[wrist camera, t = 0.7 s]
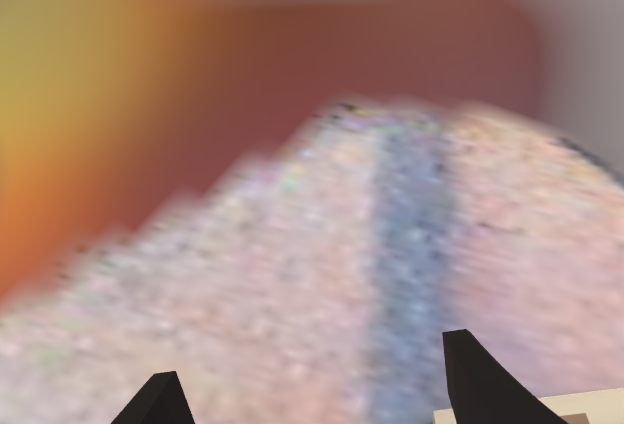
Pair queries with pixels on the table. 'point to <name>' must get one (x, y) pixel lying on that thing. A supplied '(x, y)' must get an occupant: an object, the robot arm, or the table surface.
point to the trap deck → (571, 407)
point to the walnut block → (576, 418)
